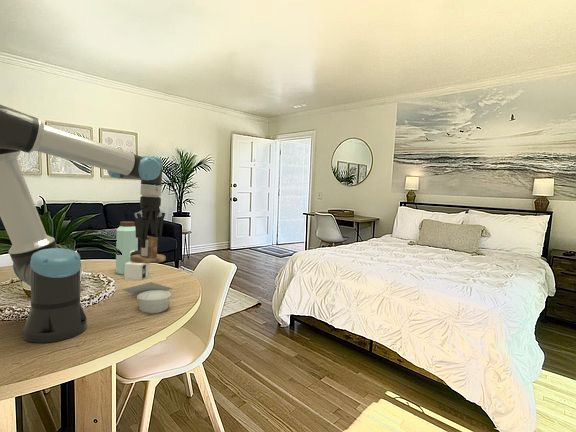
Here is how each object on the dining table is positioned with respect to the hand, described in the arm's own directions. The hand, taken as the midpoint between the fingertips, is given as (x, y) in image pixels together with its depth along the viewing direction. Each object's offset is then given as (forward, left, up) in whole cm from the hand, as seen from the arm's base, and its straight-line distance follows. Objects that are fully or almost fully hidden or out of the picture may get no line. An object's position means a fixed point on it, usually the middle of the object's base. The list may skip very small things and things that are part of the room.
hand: (148, 255), depth 129 cm
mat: (+3, +4, -16) cm, 17 cm away
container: (+11, +22, -16) cm, 30 cm away
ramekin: (-9, -15, -16) cm, 24 cm away
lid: (0, 0, -2) cm, 2 cm away
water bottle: (+14, +34, -16) cm, 41 cm away
